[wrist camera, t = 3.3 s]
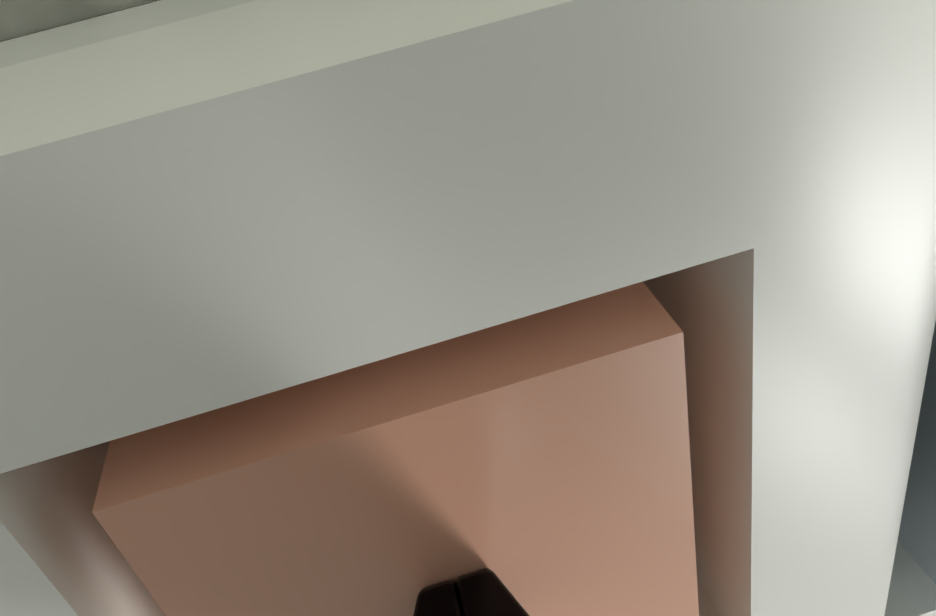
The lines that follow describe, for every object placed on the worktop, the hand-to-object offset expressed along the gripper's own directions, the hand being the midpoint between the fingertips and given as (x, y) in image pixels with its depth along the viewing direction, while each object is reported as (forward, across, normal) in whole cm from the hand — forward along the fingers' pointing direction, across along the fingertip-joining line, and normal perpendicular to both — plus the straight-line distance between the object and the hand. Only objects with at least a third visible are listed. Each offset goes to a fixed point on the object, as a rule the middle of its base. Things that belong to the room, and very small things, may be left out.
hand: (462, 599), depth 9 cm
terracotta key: (+3, 0, 0) cm, 3 cm away
